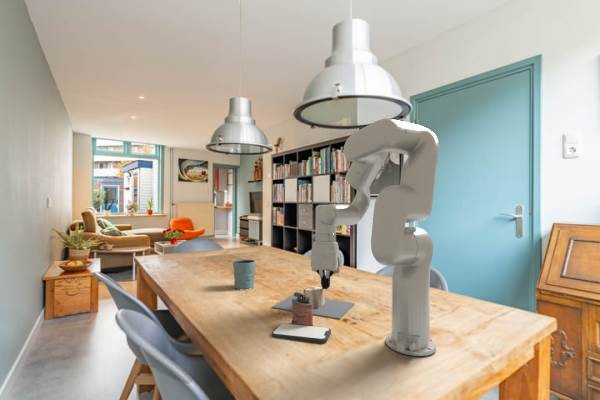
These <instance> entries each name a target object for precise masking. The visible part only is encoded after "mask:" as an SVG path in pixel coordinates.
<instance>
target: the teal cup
mask: <svg viewBox="0 0 600 400" xmlns="http://www.w3.org/2000/svg"><path fill="white" fill-rule="evenodd" d="M232 266H233V279H234V289H235V288H237V289H236V290H238V289H249V288H252V289H254V288H255V276H256V275H255V273H256V272H255V271H256V270H255V269H256V260H255V259H236V260H233V261H232ZM253 287H254V288H253ZM249 290H250V289H249Z"/></svg>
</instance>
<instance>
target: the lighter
mask: <svg viewBox="0 0 600 400" xmlns="http://www.w3.org/2000/svg"><path fill="white" fill-rule="evenodd" d="M293 295H294V296H295V297H297V298H295V299H292V311H291V312H292V320H291V324H294V325H304V326H314V325H313V323H314V321H313V320H314V319H313V316H314V315H313V303H312V302H309V299H310V296H308V295H306V293H304V292H303V293H301V292H299V291H294V292H293Z"/></svg>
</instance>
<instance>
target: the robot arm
mask: <svg viewBox="0 0 600 400" xmlns="http://www.w3.org/2000/svg"><path fill="white" fill-rule="evenodd" d="M389 153H394V154H400V155H406V156H408V157H407V158H406V160H405V161H404V163H403V165H402V168H401V172H400V179H399V180H400V181H399V185H389V186H386V187H385V188H383V189H382V190H381V191H380V192H379V193H378V195H377V196H376V199H375V202H374V207H373V214H372V215H373V217H372V225H371V226H372V227H371V236H370V237H371V238H370V248H371V253H372V255H373V258H374V259H375V261H376V262H377V263H379V264H380V265H383V266H387V267H394V268H393V270H392V276H391V333H390V334H388V335H387V336H386V337H385V344H386V345H387V347H389V349H391V350H393V351H395V352H397V353H400V354H403V355H406V356H412V357H426V356H430V355H433V354H434V353H435V352H436V351H437V344H436V342H435V341H434V340H433V339H431V338H430V337H431V336H430V332H431V331H430V330H431V329H430V328H431V327H430V324H431V323H430V319H431V317H430V315H431V313H430V312H431V311H430V310H431V309H430V307H431V305H430V303H431V302H430V292H431V291H430V288H431V287H430V286H431V284H430V281H431V280H430V278H431V277H430V276H431V267H432V261H433V255H434V243H433V239H432V237H431V235H430V234H429V233H428V232H427V231H426V230H425V229H423V228H421V227H417V226H406V224H407V223H408V224H409V223H419V222H424V221H425V220H428V218H429V217H430V216H431V213H432V211H433V210H432V209H433V200H434V195H435V194H434V193H435V192H434V191H435V186H436V185H435V184H436V173H437V165H438V162H439V155H440V141H439V139H438V137H437V135H436V134H435V133H434V132H433V131H431V130H430V129H429V128H426V127H424V126H422V125H419V124H415V123H411V122H406V121H403V120H398V119H393V118H382V119H379V120H377V121H374V122H371V123H370V124H368V125H366V126H365V127H363V128H361V129H359V130H357V131H355V132H354V133H352V134H350V136H349V137H348V138H346V141H345V143H344V145H343V155H344V157H345V159H346V160H347V161H349V162H352V163H351V165H350V167H349V168H348V170H347V172H346V174H345V181H346V182H347V184H348V185H349V186H351V188H353V189H355V190H356V194H355V196H354V198H353V199H352V201H351V203H330V204H318V205H316V206H315V233H313V234H311V238H312V239H314V240H315V241H312V247H311V253H310V267H311V271H312V272H315V273H317V274H318V275H319V278H320V286H321V287H322V289H325V290H327V289H329V288H330V286H331V277H332V276H333V275H335V274H340V272H341V269H340V267H341V257H340V249H339V248H340V247H339V243H338V242H337V226H354V225H357V224H359V223H360V222H361V220H362V219H363V218H364V216H365V215H366V213H367V212H368V210H369V208H370V204H371V190H370V187H371V186H372V183H373V181H374V180H375V178H376V177H377V176H378V174H379V172H380V170H381V168H382V166H383V165H384V163H385V161H386V159H387V157H388V156H389Z"/></svg>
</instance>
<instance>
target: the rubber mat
mask: <svg viewBox="0 0 600 400" xmlns="http://www.w3.org/2000/svg"><path fill="white" fill-rule="evenodd" d="M295 298H297V297H295V296H294V294H292V295H290V296H288V297H287V298H284V299H283V300H281V301H280V302H278V303H276V304H274V305H273V306H271V309H275V308H276V309H275V310H280V311H282V310H283V311H287V312H292V299H295ZM355 304H356V303H355V302H351V301H349V302H348V301H344V300H337V299H329V298H325V304H324V305H322V306H321V307H320V308H313V316H316V317H317V316H318V317H324V318H330V319H335V320H341V319H342V318H343V317H344V316H345V315H346V314H347V313H348V312H349V310H351V309H352V308H353V307H354V306H355Z"/></svg>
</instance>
